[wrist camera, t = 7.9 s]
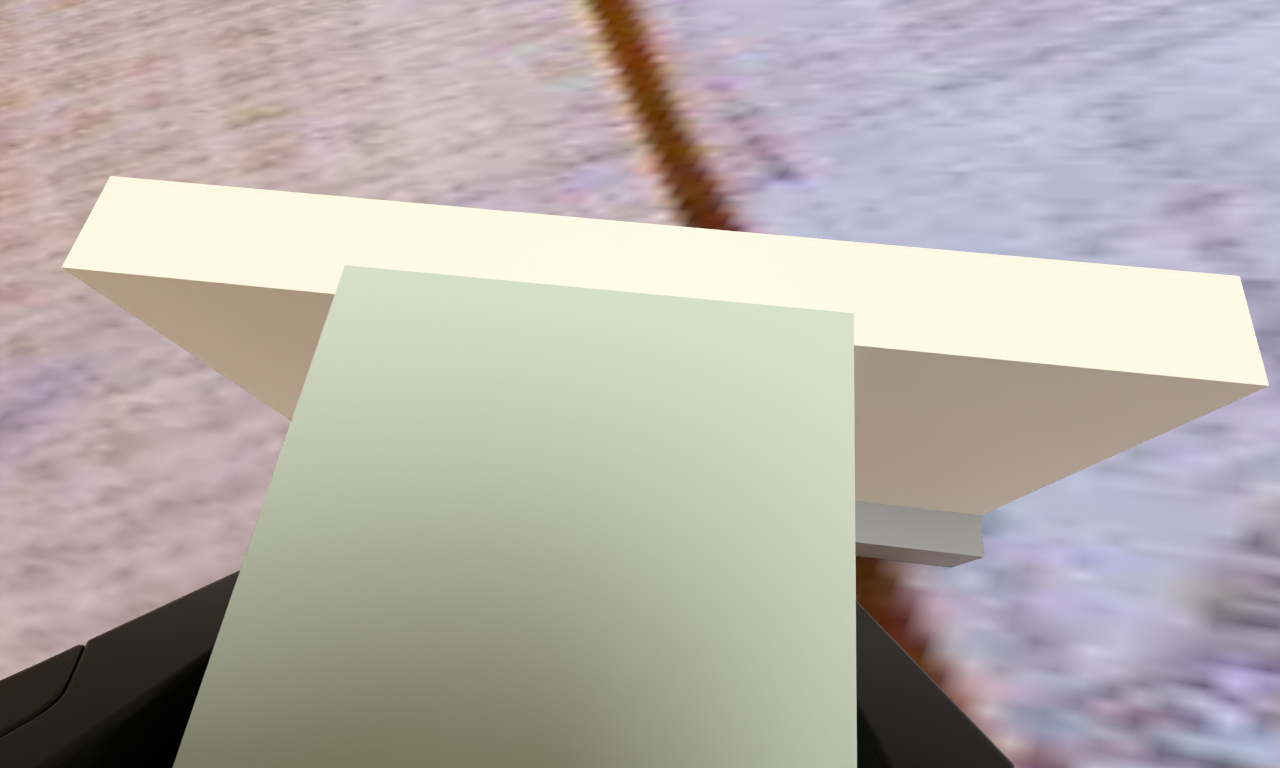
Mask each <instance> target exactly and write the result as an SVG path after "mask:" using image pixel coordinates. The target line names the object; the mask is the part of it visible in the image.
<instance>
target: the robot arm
mask: <svg viewBox="0 0 1280 768" xmlns="http://www.w3.org/2000/svg"><path fill="white" fill-rule="evenodd" d="M239 572H240V570H239V571H237V572H235V573H233V574H231V575H229V576H227V577H224V578H222V579H220V580H218V581H216V582H214V583H211V584H209V585H207V586H205V587H203V588H201V589H198V590H196V591H194V592H192V593H190V594H188V595H185V596H183V597H181V598H179V599H177V600H175V601H173V602H170V603H168V604H166V605H164V606H162V607H160V608H157V609H155V610H153V611H151V612H149V613H147V614H144V615H142V616H140V617H138V618H136V619H134V620H131V621H129V622H127V623H125V624H123V625H121V626H119V627H116V628H114V629H112V630H110V631H108V632H106V633H103V634H101V635H99V636H97V637H95V638H93V639H90V640H89V641H88V642H87V643H86V645H85V646H84V645H77V646H75V647H73V648H71V649H68V650H66V651H64V652H62V653H60V654H58V655H56V656H54V657H51V658H49V659H47V660H45V661H43V662H41V663H39V664H36V665H34V666H32V667H30V668H27V669H25V670H23V671H21V672H18V673H16V674H14V675H12V676H10V677H7V678H5V679H3V680H1V681H0V768H173V765H174V762H175V759H176V756H177V753H178V750H179V747H180V744H181V741H182V738H183V736H184V733H185V730H186V727H187V724H188V721H189V718H190V715H191V712H192V709H193V706H194V703H195V701H196V698H197V695H198V692H199V689H200V686H201V683H202V680H203V677H204V674H205V671H206V668H207V666H208V663H209V660H210V657H211V654H212V651H213V648H214V645H215V642H216V639H217V636H218V633H219V631H220V628H221V625H222V622H223V619H224V616H225V613H226V610H227V607H228V604H229V601H230V598H231V596H232V593H233V590H234V587H235V584H236V581H237V578H238V575H239ZM856 696H857V768H1014V765H1013V763H1012V762H1011V761H1010V760H1009V759H1008V758H1007V757H1006V756H1005V755H1004V754H1003V753H1002V752H1001V751H1000V750H999V749H998V748H997V747H996V746H995V745H994V744H993V743H992V741H991V740H990V739H989V738H988V737H987V736H986V735H985V734H984V733H983V732H982V731H981V730H980V729H979V728H978V727H977V726H976V725H975V724H974V723H973V722H972V721H971V720H970V719H969V718H968V716H967V715H966V714H965V713H964V712H963V711H962V710H961V709H960V708H959V707H958V706H957V705H956V704H955V703H954V702H953V701H952V700H951V699H950V698H949V697H948V696H947V695H946V694H945V692H944V691H943V690H942V689H941V688H940V687H939V686H938V685H937V684H936V683H935V682H934V681H933V680H932V679H931V678H930V677H929V676H928V675H927V674H926V673H925V672H924V671H923V670H922V668H921V667H920V666H919V665H918V664H917V663H916V662H915V661H914V660H913V659H912V658H911V657H910V656H909V655H908V654H907V653H906V652H905V651H904V650H903V649H902V648H901V647H900V646H899V645H898V643H897V642H896V641H895V640H894V639H893V638H892V637H891V636H890V635H889V634H888V633H887V632H886V631H885V630H884V629H883V628H882V627H881V626H880V625H879V624H878V623H877V622H876V621H875V619H874V618H873V617H872V616H871V615H870V614H869V613H868V612H867V611H866V610H865V609H864V608H863V607H862V606H861V605H860V604H859V603H858V602H857V601H856Z"/></svg>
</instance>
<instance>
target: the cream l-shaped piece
mask: <svg viewBox="0 0 1280 768" xmlns="http://www.w3.org/2000/svg"><path fill="white" fill-rule="evenodd" d="M345 265H348V266H359V267H370V268H380V269H391V270H401V271H412V272H423V273H433V274H444V275H454V276H465V277H476V278H486V279H497V280H507V281H518V282H529V283H539V284H550V285H560V286H571V287H582V288H592V289H603V290H613V291H624V292H635V293H645V294H656V295H666V296H677V297H688V298H698V299H709V300H719V301H730V302H741V303H751V304H762V305H772V306H783V307H794V308H804V309H815V310H825V311H836V312H846V313H854V418H855V556H860V557H868V558H877V559H885V560H894V561H902V562H911V563H919V564H928V565H936V566H945V567H954V566H957V565H960V564H963V563H967V562H970V561H973V560H976V559H979V558H982V557H984V554H983V542H982V529H981V517H980V515H982V514H984V513H987V512H989V511H991V510H993V509H996V508H998V507H1000V506H1002V505H1004V504H1007V503H1009V502H1011V501H1013V500H1016V499H1018V498H1020V497H1022V496H1025V495H1027V494H1029V493H1031V492H1033V491H1036V490H1038V489H1040V488H1042V487H1045V486H1047V485H1049V484H1051V483H1054V482H1056V481H1058V480H1060V479H1062V478H1065V477H1067V476H1069V475H1071V474H1074V473H1076V472H1078V471H1080V470H1083V469H1085V468H1087V467H1089V466H1091V465H1094V464H1096V463H1098V462H1100V461H1103V460H1105V459H1107V458H1109V457H1112V456H1114V455H1116V454H1118V453H1120V452H1123V451H1125V450H1127V449H1129V448H1132V447H1134V446H1136V445H1138V444H1141V443H1143V442H1145V441H1147V440H1149V439H1152V438H1154V437H1156V436H1158V435H1161V434H1163V433H1165V432H1167V431H1170V430H1172V429H1174V428H1176V427H1178V426H1181V425H1183V424H1185V423H1187V422H1190V421H1192V420H1194V419H1196V418H1199V417H1201V416H1203V415H1205V414H1207V413H1210V412H1212V411H1214V410H1216V409H1219V408H1221V407H1223V406H1225V405H1228V404H1230V403H1232V402H1234V401H1236V400H1239V399H1241V398H1243V397H1245V396H1248V395H1250V394H1252V393H1254V392H1257V391H1259V390H1261V389H1263V388H1265V387H1268V386H1269V384H1268V380H1267V376H1266V373H1265V369H1264V365H1263V361H1262V358H1261V354H1260V350H1259V347H1258V343H1257V339H1256V335H1255V332H1254V328H1253V324H1252V321H1251V317H1250V313H1249V309H1248V306H1247V302H1246V298H1245V295H1244V291H1243V287H1242V283H1241V280H1240V276H1232V275H1221V274H1210V273H1198V272H1187V271H1176V270H1165V269H1153V268H1142V267H1131V266H1119V265H1108V264H1097V263H1086V262H1074V261H1063V260H1052V259H1040V258H1029V257H1018V256H1007V255H995V254H984V253H973V252H961V251H950V250H939V249H928V248H916V247H905V246H894V245H882V244H871V243H860V242H849V241H837V240H826V239H815V238H803V237H792V236H781V235H770V234H758V233H747V232H736V231H724V230H713V229H702V228H691V227H679V226H668V225H657V224H645V223H634V222H623V221H612V220H600V219H589V218H578V217H566V216H555V215H544V214H533V213H521V212H510V211H499V210H487V209H476V208H465V207H454V206H442V205H431V204H420V203H408V202H397V201H386V200H375V199H363V198H352V197H341V196H329V195H318V194H307V193H296V192H284V191H273V190H262V189H250V188H239V187H228V186H217V185H205V184H194V183H183V182H171V181H160V180H149V179H138V178H126V177H115V176H110V178H109V180H108V182H107V184H106V186H105V188H104V189H103V191H102V193H101V195H100V197H99V199H98V201H97V202H96V204H95V206H94V208H93V210H92V212H91V214H90V216H89V217H88V219H87V221H86V223H85V225H84V227H83V229H82V230H81V232H80V234H79V236H78V238H77V240H76V242H75V243H74V245H73V247H72V249H71V251H70V253H69V255H68V256H67V258H66V260H65V262H64V264H63V266H62V268H63V269H65V270H66V271H68V272H69V273H71V274H72V275H74V276H75V277H77V278H78V279H80V280H81V281H83V282H84V283H86V284H87V285H89V286H90V287H92V288H93V289H95V290H96V291H98V292H99V293H101V294H102V295H104V296H105V297H107V298H108V299H110V300H111V301H113V302H114V303H116V304H117V305H119V306H120V307H122V308H123V309H125V310H126V311H128V312H129V313H131V314H132V315H134V316H135V317H137V318H138V319H140V320H141V321H143V322H144V323H146V324H147V325H149V326H150V327H152V328H153V329H155V330H156V331H158V332H159V333H161V334H162V335H164V336H165V337H167V338H168V339H170V340H171V341H173V342H174V343H176V344H177V345H179V346H180V347H181V348H183V349H184V350H186V351H187V352H189V353H190V354H192V355H193V356H195V357H196V358H198V359H199V360H201V361H202V362H204V363H205V364H207V365H208V366H210V367H211V368H213V369H214V370H216V371H217V372H219V373H220V374H222V375H223V376H225V377H226V378H228V379H229V380H231V381H232V382H234V383H235V384H237V385H238V386H240V387H241V388H243V389H244V390H246V391H247V392H249V393H250V394H252V395H253V396H255V397H256V398H258V399H259V400H261V401H262V402H264V403H265V404H267V405H268V406H270V407H271V408H273V409H274V410H276V411H277V412H279V413H280V414H282V415H283V416H285V417H286V418H288V419H289V420H291V421H292V418H293V415H294V412H295V409H296V406H297V403H298V400H299V397H300V394H301V391H302V389H303V386H304V383H305V380H306V377H307V374H308V371H309V368H310V365H311V362H312V359H313V356H314V354H315V351H316V348H317V345H318V342H319V339H320V336H321V333H322V330H323V327H324V324H325V321H326V319H327V316H328V313H329V310H330V307H331V304H332V301H333V298H334V295H335V292H336V289H337V286H338V284H339V281H340V278H341V275H342V272H343V269H344V266H345Z"/></svg>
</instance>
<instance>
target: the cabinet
mask: <svg viewBox="0 0 1280 768" xmlns="http://www.w3.org/2000/svg"><path fill="white" fill-rule="evenodd" d="M173 768H857V696H856V557H855V418H854V313H846V312H836V311H825V310H815V309H804V308H794V307H783V306H772V305H762V304H751V303H741V302H730V301H719V300H709V299H698V298H688V297H677V296H666V295H656V294H645V293H635V292H624V291H613V290H603V289H592V288H582V287H571V286H560V285H550V284H539V283H529V282H518V281H507V280H497V279H486V278H476V277H465V276H454V275H444V274H433V273H423V272H412V271H401V270H391V269H380V268H370V267H359V266H348V265H345V266H344V269H343V272H342V275H341V278H340V281H339V284H338V286H337V289H336V292H335V295H334V298H333V301H332V304H331V307H330V310H329V313H328V316H327V319H326V321H325V324H324V327H323V330H322V333H321V336H320V339H319V342H318V345H317V348H316V351H315V354H314V356H313V359H312V362H311V365H310V368H309V371H308V374H307V377H306V380H305V383H304V386H303V389H302V391H301V394H300V397H299V400H298V403H297V406H296V409H295V412H294V415H293V418H292V421H291V423H290V426H289V429H288V432H287V435H286V438H285V441H284V444H283V447H282V450H281V453H280V456H279V458H278V461H277V464H276V467H275V470H274V473H273V476H272V479H271V482H270V485H269V488H268V491H267V493H266V496H265V499H264V502H263V505H262V508H261V511H260V514H259V517H258V520H257V523H256V526H255V528H254V531H253V534H252V537H251V540H250V543H249V546H248V549H247V552H246V555H245V558H244V561H243V563H242V566H241V569H240V572H239V575H238V578H237V581H236V584H235V587H234V590H233V593H232V596H231V598H230V601H229V604H228V607H227V610H226V613H225V616H224V619H223V622H222V625H221V628H220V631H219V633H218V636H217V639H216V642H215V645H214V648H213V651H212V654H211V657H210V660H209V663H208V666H207V668H206V671H205V674H204V677H203V680H202V683H201V686H200V689H199V692H198V695H197V698H196V701H195V703H194V706H193V709H192V712H191V715H190V718H189V721H188V724H187V727H186V730H185V733H184V736H183V738H182V741H181V744H180V747H179V750H178V753H177V756H176V759H175V762H174V765H173Z"/></svg>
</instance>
